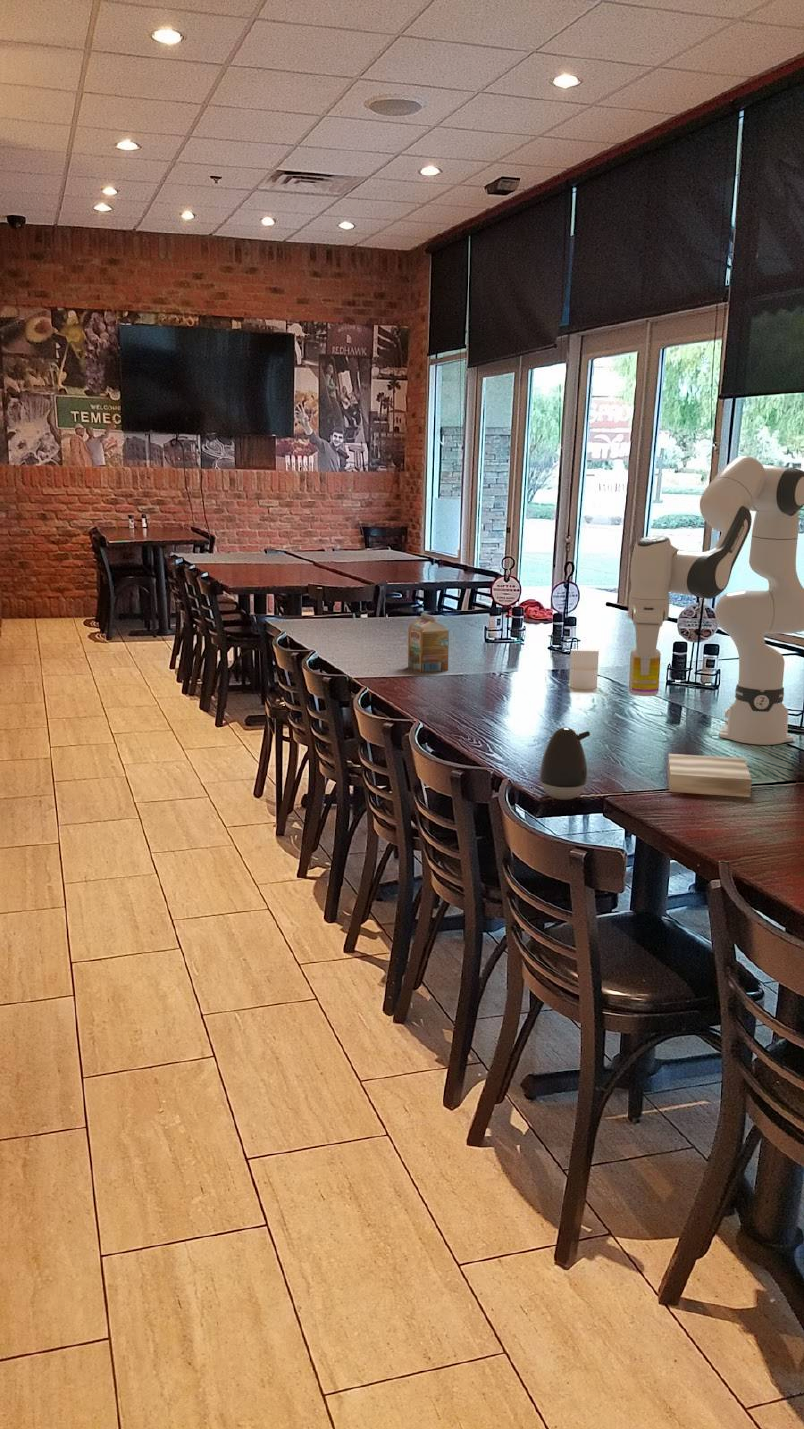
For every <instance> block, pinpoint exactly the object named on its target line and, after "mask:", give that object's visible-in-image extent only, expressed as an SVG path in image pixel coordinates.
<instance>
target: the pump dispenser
mask: <svg viewBox="0 0 804 1429" xmlns="http://www.w3.org/2000/svg"><path fill="white" fill-rule="evenodd" d="M590 735H591V733H590V731H588V730H586V731H583V732H581V733H578V734H577V732H576V731H575V730H573V729H572V728H570V727H561V728H558V729H557V730H555V731H554V732H553V734H552V735H551V737H550V739H549V741H548V743H547V745H546V747H545V750H544V753H543V757H542V760H541V764H540V765H541V766H540V772H539V780H540V783H541V787H542V789H543V791H544V792H545V794H546V795H548V796H549V797H550V798H553V799H555V798H556V800H559V801H560V800H561V801H562V800H563V801H565V800H566V801H569V800H572V799H576V798H577V797H579V796H580V795H581V794H582V792H584V790H585V787H586V784H587V783H588V775H589V774H588V764H587V759H586V754H585V751H584V747H583V744H582V742H581V741H582V740H584V739H586V738H588V737H589V736H590Z"/></svg>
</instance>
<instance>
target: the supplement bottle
mask: <svg viewBox="0 0 804 1429" xmlns="http://www.w3.org/2000/svg"><path fill="white" fill-rule="evenodd" d="M629 655H630V659H629V676H628V678H629V679H628V692H629V693H630V694H631V695H633V696H637V697H638V696H639V697H654V696H657V695H659V690H660V674H661V673H660V671H661V656H662V654H661V651H660V650H659V648H656V651H655V656H654V658H652V659H650V666H649V675H641V658H638V657H637V649H636V647H634V648H632V649H631V651H630V654H629Z"/></svg>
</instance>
